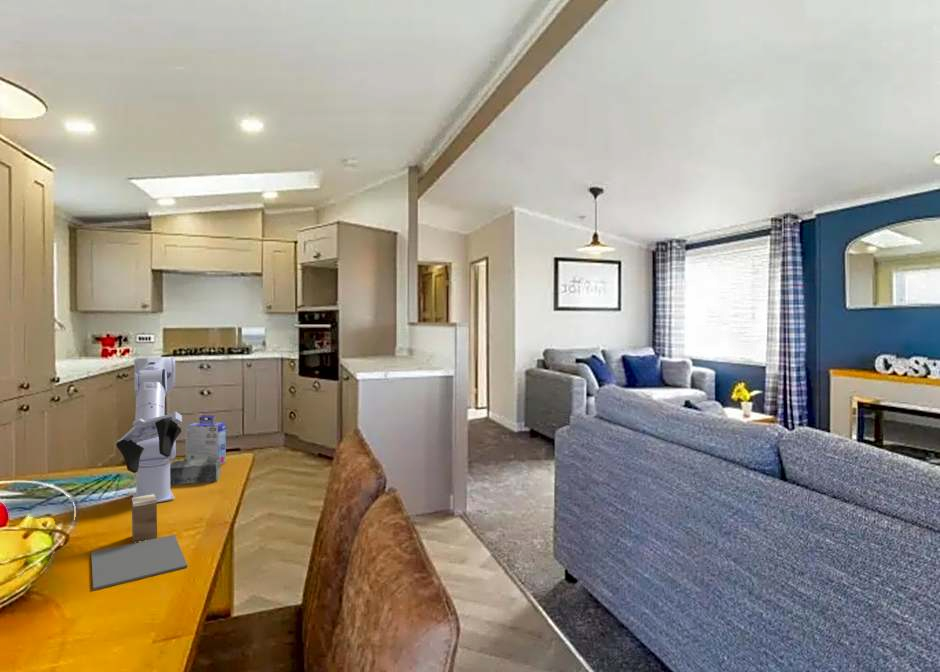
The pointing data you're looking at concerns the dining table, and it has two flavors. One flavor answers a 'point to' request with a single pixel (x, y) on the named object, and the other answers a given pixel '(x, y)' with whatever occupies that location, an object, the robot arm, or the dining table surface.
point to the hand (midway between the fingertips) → (148, 462)
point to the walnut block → (144, 518)
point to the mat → (136, 561)
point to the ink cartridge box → (206, 440)
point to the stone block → (195, 471)
